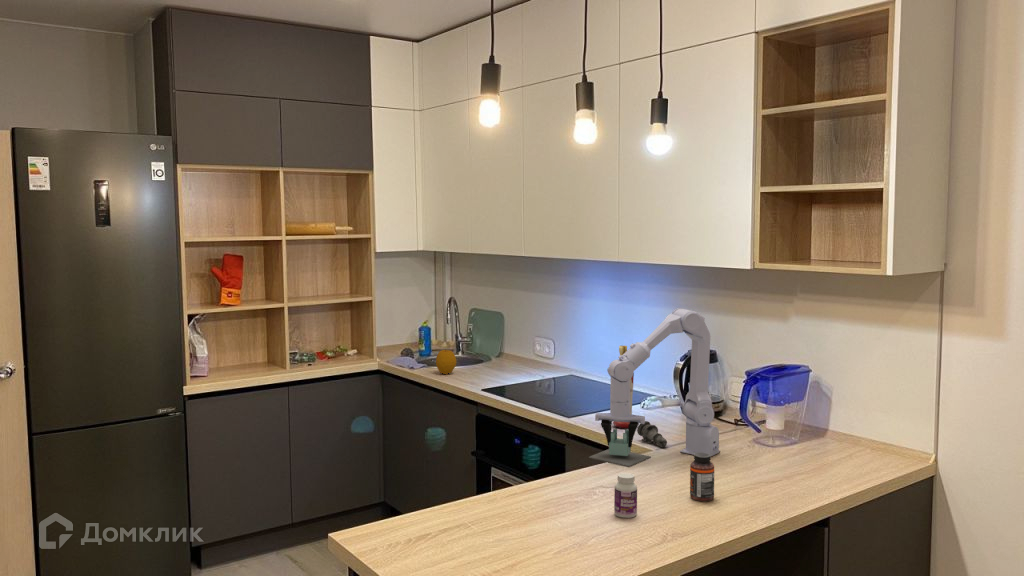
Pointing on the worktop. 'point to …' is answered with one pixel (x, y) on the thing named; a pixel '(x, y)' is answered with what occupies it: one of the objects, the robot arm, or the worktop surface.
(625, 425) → the liquor
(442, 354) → the orange rounded oval
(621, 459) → the mat
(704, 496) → the supplement bottle
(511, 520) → the worktop surface
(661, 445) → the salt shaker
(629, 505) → the pill bottle
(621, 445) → the stool
